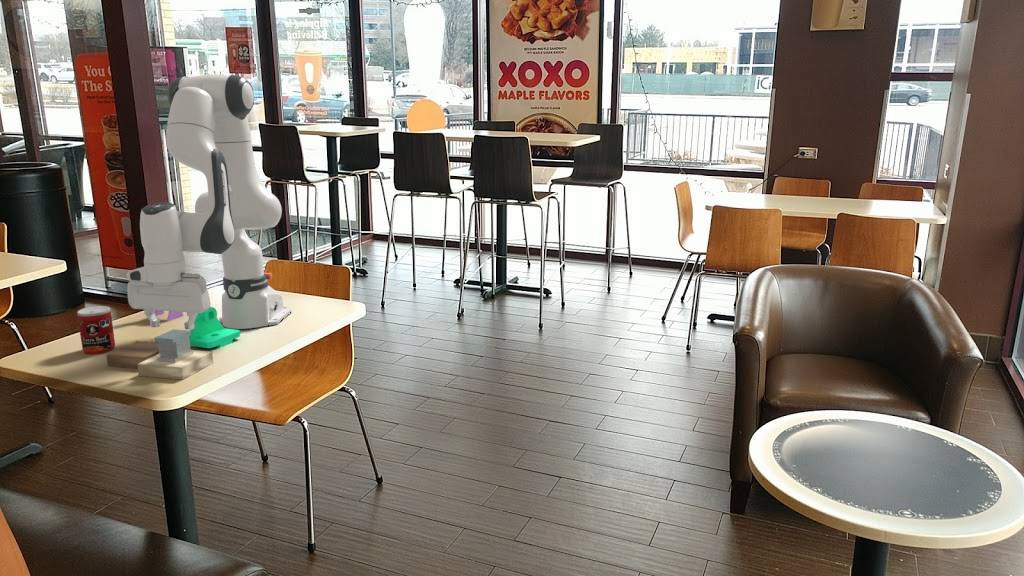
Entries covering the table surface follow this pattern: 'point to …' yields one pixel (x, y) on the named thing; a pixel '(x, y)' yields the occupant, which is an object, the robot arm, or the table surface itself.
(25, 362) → the table surface
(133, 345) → the stand
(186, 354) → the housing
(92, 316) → the canned food
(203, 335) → the camera mount
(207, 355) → the stand
